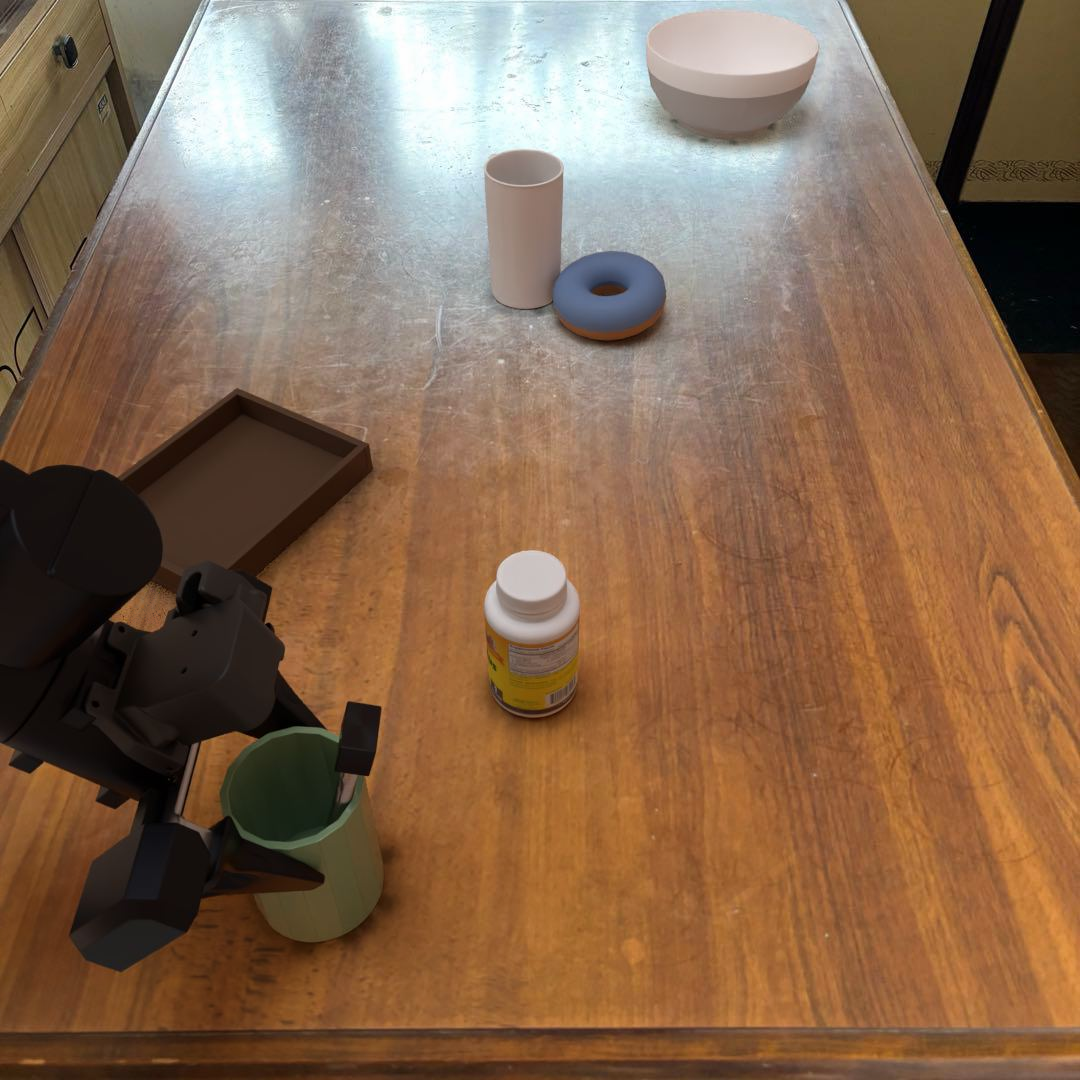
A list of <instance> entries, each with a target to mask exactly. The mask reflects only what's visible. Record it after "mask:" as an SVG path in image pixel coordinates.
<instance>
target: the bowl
mask: <svg viewBox="0 0 1080 1080" xmlns="http://www.w3.org/2000/svg"><path fill="white" fill-rule="evenodd" d="M819 52H820V43H819V40H818V39H817V36H815V35H814V34H813V33H812V31H811V30H809V29H807V28H806V27H805V26H803V25H802V24H799V23H797V22H795V21H792V20H790V19H787V18H784V17H780V16H778V15H774V14H769V13H764V12H759V11H751V10H744V9H743V10H742V9H705V10H704V9H703V10H695V11H690V12H684V13H680V14H677V15H673V16H670V17H667V18H665V19H662V20H661V21H659V22H657V23H655V24H654V25H653V26H652V27H651V28H650V29H649V31H648V32H647V35H646V36H645V62H646V68H647V73H648V79H649V84H650V88H651V90H652V92H653V93H654V94H655V96H656V97H657V99H658V102H659V103H660V104H661V106H662V107H663V109H664V111H666V112H667V113H668V114H669V115H671V116H672V117H674V118H675V119H676V121H677V123H678V124H679V125H680V126H681V127H682V128H683V129H686V130H687V131H689V132H691V133H694V134H696V135H699V136H703V137H707V138H713V139H724V140H725V139H726V140H728V139H729V140H733V139H743V138H748V137H752V136H756V135H758V134H760V133H763V132H765V130H767V129H768V128H769V126H770V125H772V124H774V123H775V122H777V121H780V120H781V119H783V118H784V117H786V116H787V115H788V114H789V113H790V111H791V110H792V109H793V108H794V107H795V106H796V105H797V104H798V102H799V101H800V100H801V99H803V96H804V94H805V93H806V90H807V88H808V85H809V83H810V82H811V79H812V76H813V75H814V73H815V68H816V64H817V61H818V55H819Z"/></svg>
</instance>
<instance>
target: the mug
mask: <svg viewBox="0 0 1080 1080" xmlns="http://www.w3.org/2000/svg"><path fill="white" fill-rule="evenodd" d="M564 167H565V165H564V163H563V161H562V160H561V159H560V158H559V157H557V156H556V155H554V154H552V153H549V152H546V151H543V150H538V149H529V148H526V149H525V148H519V149H510V150H505V151H501V152H499V153H492V154H489V156H488V159H487V160H486V161H485V162H484V164H483V173H484V174H483V175H484V197H485V198H484V199H485V210H486V225H487V241H488V256H489V257H488V258H489V259H488V260H489V271H490V283H491V284H490V285H491V293H492V296H493V297H494V299H495V300H496V301H498V302H499V303H500V304H502V305H504V306H505V307H509V308H513V309H519V310H520V309H522V310H528V309H530V310H531V309H537V308H542V307H544V306H547V305H549V304H550V303H552V302H553V288H554V285H555V283H556V280H557V278H558V276H559V274H560V273H561V264H562V262H561V261H562V234H563V233H562V232H563V231H562V230H563V204H564V203H563V202H564V170H565V168H564Z"/></svg>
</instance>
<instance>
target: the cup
mask: <svg viewBox="0 0 1080 1080" xmlns="http://www.w3.org/2000/svg"><path fill="white" fill-rule="evenodd" d="M339 737H340V734H336V733H334V732H332V731H330V730H329V729H327V730H325V729H323V728H316V727H300V726H296V727H295V726H294V727H290V728H287V729H283V730H279V731H275V732H271V733H269V734H266V735H265V736H263V737H261V738H260V739H256V740H254V741H253V742H252V743H250V744H248V745H247V746H245V747H244V748H243V749H242V750H241V751H240V753H239V754H238V755H237V756H236V757H235V759H234V760H233V761H232V762H231V763H230V764H229V766H228V767H227V769H226V771H225V773H224V774H225V775H224V778H223V780H222V783H221V787H220V790H219V800H220V808H221V814H222V815H221V816H222V819H223V818H225V817H226V816H228V815H229V816H231V817H232V819H233V821H234V823H235V825H236V827H237V829H238V831H239V833H240V835H241V837H243V838H244V839H246V840H249V841H251V842H254V843H256V844H259V845H261V846H264V847H266V848H269V849H271V850H274V851H276V852H279V853H281V854H284V855H286V856H288V857H291V858H293V859H296V860H298V861H301V862H303V863H305V864H307V865H309V866H310V867H312V868H314V869H316V870H317V871H319V872H321V873H322V874H324V875H325V882H324V884H323V885H321V886H319V887H318V888H316V889H314V890H310V891H293V892H275V893H258V894H252V896H253V898H254V902H255V904H256V907H257V908H258V909H259V911H260V913H261V915H262V917H263V918H264V920H265V922H266V923H267V924H268V925H269V927H271V928H272V929H273V930H274V931H275V932H277V933H279V934H280V935H282V936H283V937H286V938H288V939H290V940H294V941H297V942H303V943H321V942H327V941H330V940H334V939H337V938H340V937H342V936H344V935H346V934H348V933H349V932H351V931H353V930H354V929H356V928H357V927H358V926H359V925H360V924H362V923H363V922H364V921H365V920H366V919H367V918H368V917H369V916H370V915H371V914H372V912H373V911H374V909H375V907H376V905H377V903H378V902H379V900H380V897H381V895H382V892H383V887H384V882H385V866H384V861H383V857H382V852H381V846H380V842H379V838H378V837H379V836H378V832H377V828H376V823H375V818H374V813H373V808H372V803H371V798H370V794H369V790H368V784H367V780H366V776H361V775H358V776H357V780H356V783H355V787H354V790H353V794H352V797H351V801H350V804H349V805H348V806H347V808H346V809H345V811H344V812H343V813H342V815H341V816H340V818H339V819H338V820H337V821H335V822H334V823H333V824H331V825H330V826H328V827H327V828H325V827H326V824H327V820H328V816H329V812H330V808H331V804H332V801H333V797H334V793H335V789H336V785H337V781H338V778H339V774H340V772H335V763H336V757H337V750H338V743H339Z"/></svg>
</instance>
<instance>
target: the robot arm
mask: <svg viewBox="0 0 1080 1080" xmlns="http://www.w3.org/2000/svg"><path fill="white" fill-rule="evenodd" d="M117 477H118V476H116V475H114V474H112V473H110V472H108V471H106V470H104V469H101V468H100V469H96V470H93V469H91V468H88V467H85V466H81V465H73V464H62V463H61V464H55V465H47V466H44V467H42V468H39V469H37V470H34V471H32V472H31V473H27V472H26V471H24V470H22V469H21V468H19V467H17V466H15V465H14V464H12V463H10V462H9V461H6V460H5V459H0V744H2V745H4V746H6V747H9V748H10V749H14V750H13V752H12V754H11V757H10V759H9V762H8V764H7V765H8V766H9V767H12V768H14V769H17V770H19V771H21V772H23V773H26V774H29V775H31V774H32V773H33V772H35V771H36V770H37V769H38V768H39V767H41V766H42V765H43V764H44V763H46V764H48V765H50V766H53V767H56V768H58V769H60V770H62V771H64V772H68V773H69V774H72V775H75V776H76V777H79V778H81V779H83V780H86V781H88V782H91V783H93V784H95V785H97V786H99V788H98V791H97V795H96V797H95V800H94V801H95V802H96V803H98V804H100V805H103V806H105V807H108V808H110V809H113V810H114V811H115V810H117V809H118V808H120V807H122V806H123V805H124V804H125V803H126V802H128V801H129V800H133V801H135V802H138V804H137V807H136V810H135V813H134V817H133V821H132V824H131V827H130V831H129V834H127V835H126V836H125V837H123V838H122V839H121V840H119V841H118V842H117V843H115V844H113V845H112V846H111V847H110V848H108V849H107V850H105V851H104V852H103V853H101V854H99V855H98V856H97V857H96V858H94V859H93V860H92V861H91V863H90V865H89V869H88V871H87V872H88V873H87V875H86V878H85V882H84V884H83V885H84V886H83V888H82V891H81V894H80V898H79V901H78V905H77V907H76V911H75V914H74V917H73V920H72V923H71V927H70V929H69V932H68V937H69V939H70V940H71V942H72V944H73V945H74V946H75V948H76V950H77V951H78V952H79V954H80V955H81V956H82V957H83V959H84V960H85V961H86V962H89V963H92V964H95V965H98V966H100V967H104V968H106V969H109V970H113V971H115V972H119V973H122V972H125V971H126V970H127V969H130V968H131V967H132V966H134V965H135V964H137V963H139V962H141V961H143V960H144V959H145V958H147V957H149V956H151V955H152V954H154V953H155V952H158V951H159V950H161V949H162V948H164V947H165V946H167V945H169V944H170V943H172V942H173V941H175V940H177V939H179V938H180V937H182V936H184V935H186V934H187V933H188V931H189V930H190V928H191V926H192V925H193V923H194V922H195V920H196V918H197V916H198V915H199V911H200V907H201V902H202V900H204V899H210V898H217V897H226V896H239V895H253V894H258V893H275V892H293V891H310V890H314V889H316V888H318V887H319V886H321V885H323V884H324V882H325V875H324V874H322V873H321V872H319V871H317V870H316V869H314V868H312V867H310V866H309V865H307V864H305V863H303V862H301V861H298V860H296V859H293V858H291V857H288V856H286V855H284V854H281V853H279V852H276V851H274V850H271V849H269V848H266V847H264V846H261V845H259V844H256V843H254V842H251V841H249V840H246V839H244V838H243V837H241V835H240V833H239V831H238V829H237V827H236V825H235V823H234V821H233V819H232V817H231V816H229V815H228V816H226V817H225V818H223V817H222V818H221V819H220V820H219V821H217V822H216V823H215V824H213V825H211V826H209V827H208V828H207V827H204V826H202V825H199V824H198V823H195V822H192V821H190V820H188V819H186V817H185V816H184V812H185V807H186V804H187V800H188V797H189V792H190V788H191V784H192V780H193V776H194V772H195V769H196V764H197V761H198V757H199V753H200V749H201V746H202V742H205V741H208V740H211V739H215V738H217V737H221V736H224V735H227V734H231V733H235V732H236V733H240V734H243V735H246V736H249V737H251V738H253V739H256V740H258V739H260V738H261V737H263V736H265V735H266V734H269V733H271V732H275V731H279V730H283V729H287V728H290V727H294V726H295V727H296V726H300V727H316V728H323V729H325V730H328V728H327V727H326V726H325V725H324V724H323V722H321V720H320V719H319V718H318V717H317V716H316V714H314V712H312V710H311V709H310V708H309V707H308V705H306V703H304V702H303V700H302V699H301V698H300V697H299V695H298V694H297V693H296V692H295V690H294V689H293V688H292V687H291V685H290V684H289V682H288V681H287V680H286V678H285V677H284V676H283V675H282V673H281V672H280V670H279V667H280V663H281V662H282V661H284V658H285V654H286V646H285V643H284V642H283V641H282V640H281V639H280V638H279V637H278V635H276V630H275V627H274V625H273V624H272V623H271V622H270V621H268V622H266V620H267V614H268V610H269V605H270V603H271V597H272V593H273V590H274V589H273V586H271V585H269V583H266V582H264V581H263V580H261V579H259V578H257V577H256V576H255V577H254V576H252V575H250V574H249V573H247V572H245V571H243V570H228V569H226V568H224V567H222V566H219V565H217V564H215V563H213V562H211V561H209V560H207V561H204V562H202V563H199V564H196V565H194V566H191V567H188V568H186V569H185V570H184V572H183V575H182V578H181V582H180V585H179V588H178V591H177V594H175V604H176V605H175V607H173V608H172V609H169V610H167V613H166V617H165V619H164V623H163V625H162V626H161V627H160V628H158V629H156V630H154V631H149V630H143V629H138V628H136V627H134V626H132V625H129V624H128V623H126V622H124V621H116V622H115V621H113V620H111V618H112V617H113V616H115V614H117V613H118V612H119V610H121V609H122V608H123V607H124V606H125V605H126V604H127V603H129V602H130V601H131V600H132V599H133V598H134V597H135V596H136V595H137V594H138V593H139V592H140V591H141V590H142V589H144V588H145V587H146V586H147V585H148V584H150V583H151V582H152V581H151V580H152V578H153V577H154V576H155V574H156V573H157V572H158V570H159V568H160V565H161V562H162V553H163V543H162V538H161V532H160V529H159V527H158V524H157V522H156V520H155V517H154V515H153V514H152V512H151V511H150V509H149V508H148V506H147V505H146V503H145V502H144V501H143V500H142V499H141V498H140V497H139V495H138V494H137V493H136V492H135V491H134V490H133V489H132V488H131V487H129V486H128V485H126V484H125V483H124V482H122V481H121V480H120V479H118V478H117Z"/></svg>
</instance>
